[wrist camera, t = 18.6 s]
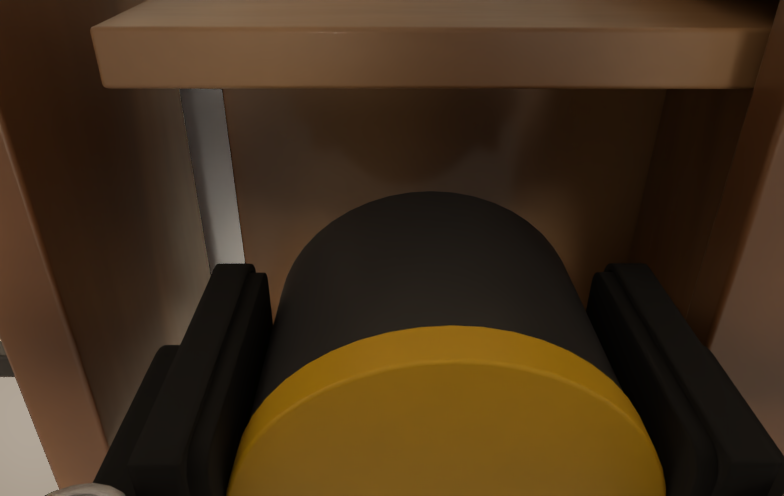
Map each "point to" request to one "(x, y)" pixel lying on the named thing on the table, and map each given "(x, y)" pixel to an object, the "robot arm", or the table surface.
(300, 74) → the drawer
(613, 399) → the jar
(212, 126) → the table surface
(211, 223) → the table surface
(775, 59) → the cabinet
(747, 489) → the robot arm
